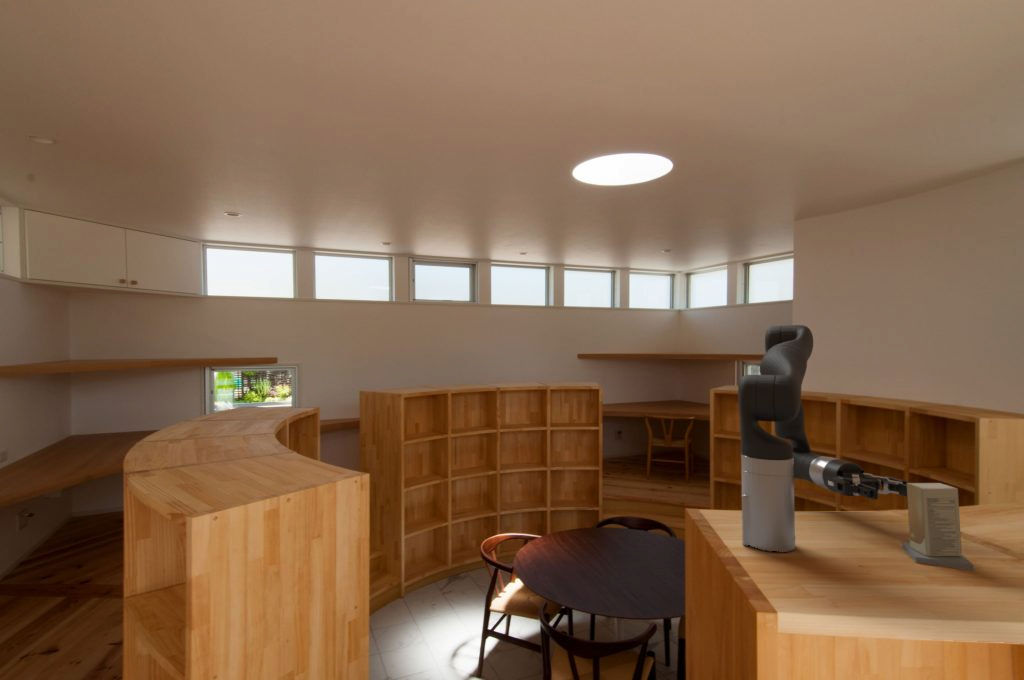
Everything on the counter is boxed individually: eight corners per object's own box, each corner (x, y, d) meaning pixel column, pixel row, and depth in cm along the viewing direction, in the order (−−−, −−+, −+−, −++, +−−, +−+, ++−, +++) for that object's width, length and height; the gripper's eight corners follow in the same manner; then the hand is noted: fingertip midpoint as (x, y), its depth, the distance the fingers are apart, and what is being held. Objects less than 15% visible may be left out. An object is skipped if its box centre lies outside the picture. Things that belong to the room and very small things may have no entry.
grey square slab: (915, 562, 88) (915, 556, 88) (902, 547, 95) (902, 541, 96) (973, 570, 85) (973, 564, 85) (955, 553, 92) (955, 548, 92)
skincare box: (943, 548, 92) (941, 482, 93) (963, 557, 88) (960, 488, 88) (907, 547, 93) (905, 481, 93) (924, 556, 88) (922, 487, 89)
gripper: (807, 459, 114) (862, 475, 98) (864, 458, 116) (928, 474, 99) (807, 492, 114) (863, 514, 98) (865, 490, 115) (929, 512, 99)
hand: (896, 494), depth 99 cm, fingers open, 8 cm apart
